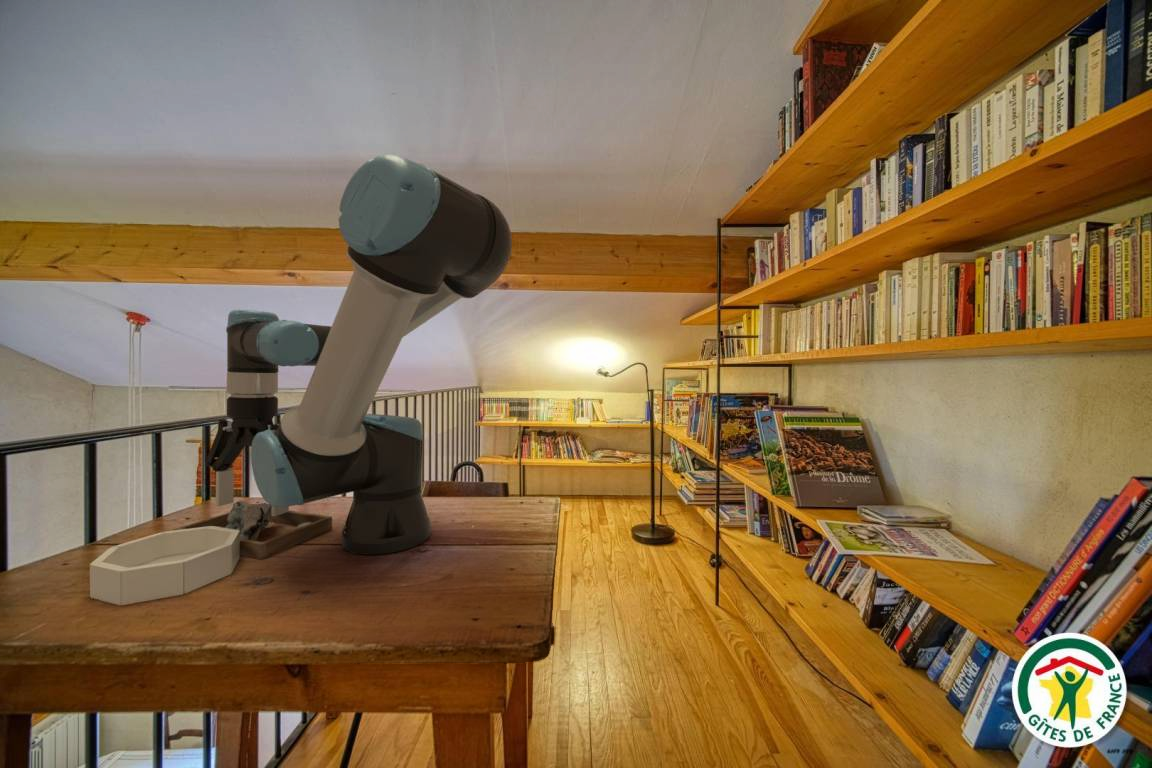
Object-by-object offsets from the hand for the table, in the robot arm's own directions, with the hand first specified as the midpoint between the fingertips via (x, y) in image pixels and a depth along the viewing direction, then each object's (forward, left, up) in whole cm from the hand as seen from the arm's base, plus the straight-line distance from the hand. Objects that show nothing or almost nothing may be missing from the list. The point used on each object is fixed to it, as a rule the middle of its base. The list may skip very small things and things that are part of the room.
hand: (251, 509), depth 79 cm
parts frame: (-1, 0, -5) cm, 5 cm away
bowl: (-4, +15, -5) cm, 17 cm away
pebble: (-8, -4, -5) cm, 11 cm away
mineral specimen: (-1, +1, -5) cm, 5 cm away
